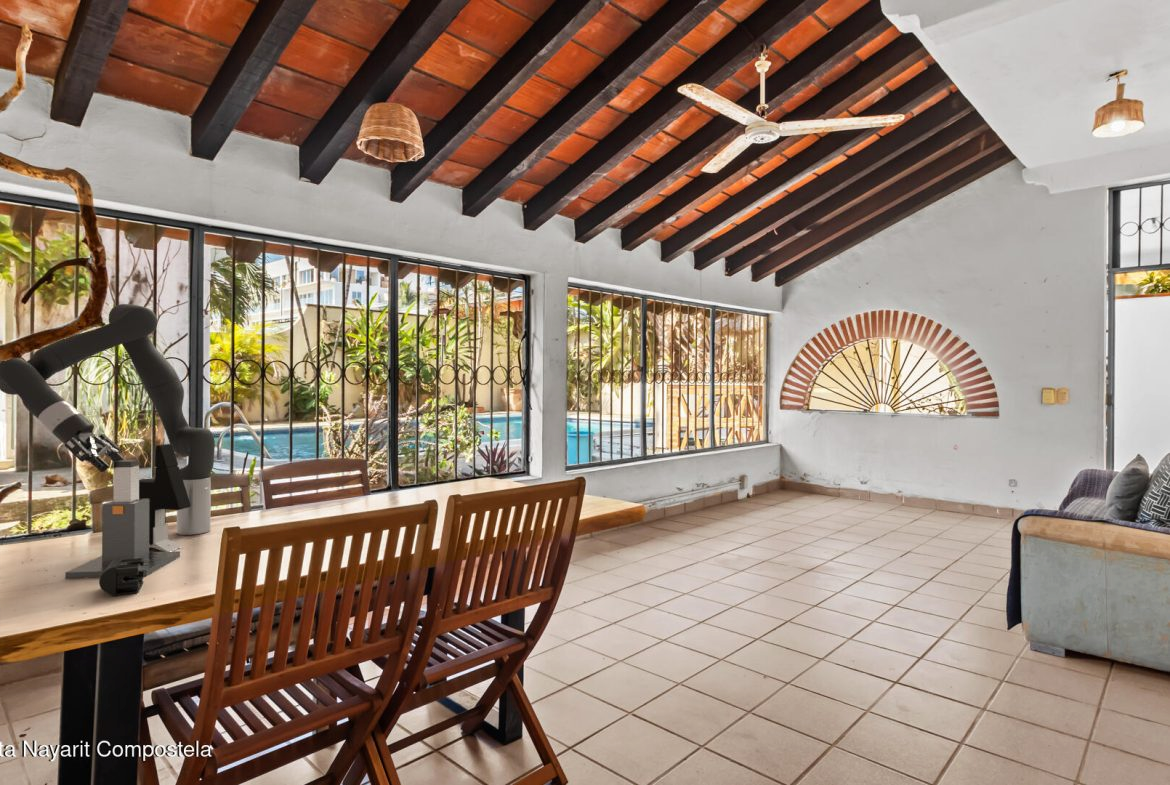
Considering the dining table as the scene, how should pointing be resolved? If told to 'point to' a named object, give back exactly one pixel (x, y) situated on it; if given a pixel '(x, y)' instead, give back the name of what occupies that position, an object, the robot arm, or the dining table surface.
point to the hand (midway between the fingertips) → (115, 467)
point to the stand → (124, 540)
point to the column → (126, 481)
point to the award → (163, 496)
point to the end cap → (122, 577)
